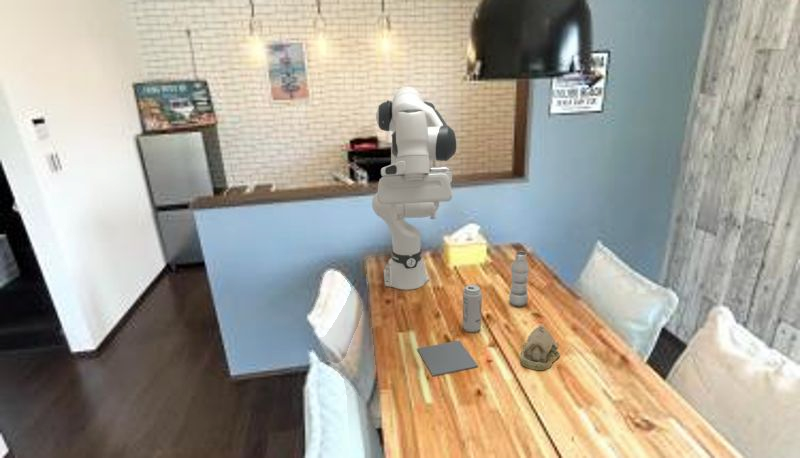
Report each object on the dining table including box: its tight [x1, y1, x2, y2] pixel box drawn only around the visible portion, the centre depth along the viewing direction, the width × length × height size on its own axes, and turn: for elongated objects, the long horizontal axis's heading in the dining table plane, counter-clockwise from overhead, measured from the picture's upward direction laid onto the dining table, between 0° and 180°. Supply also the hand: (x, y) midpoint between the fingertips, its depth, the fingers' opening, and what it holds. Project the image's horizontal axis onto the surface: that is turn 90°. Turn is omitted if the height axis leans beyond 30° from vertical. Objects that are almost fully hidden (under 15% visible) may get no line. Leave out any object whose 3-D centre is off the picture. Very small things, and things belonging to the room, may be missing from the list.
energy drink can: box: [462, 284, 483, 333], centre depth 151 cm, size 6×6×15 cm
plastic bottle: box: [508, 251, 530, 307], centre depth 166 cm, size 6×7×20 cm
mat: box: [416, 340, 479, 377], centre depth 138 cm, size 14×14×1 cm
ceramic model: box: [519, 324, 561, 371], centre depth 136 cm, size 14×11×10 cm
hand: (415, 219), depth 125 cm, fingers open, 8 cm apart
